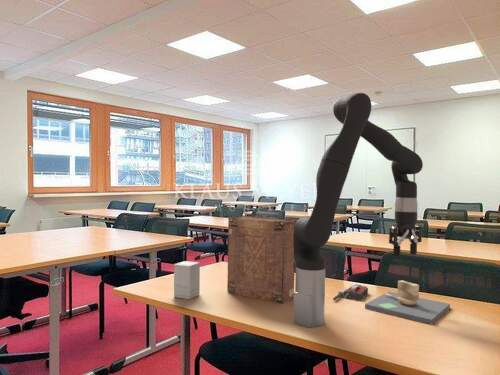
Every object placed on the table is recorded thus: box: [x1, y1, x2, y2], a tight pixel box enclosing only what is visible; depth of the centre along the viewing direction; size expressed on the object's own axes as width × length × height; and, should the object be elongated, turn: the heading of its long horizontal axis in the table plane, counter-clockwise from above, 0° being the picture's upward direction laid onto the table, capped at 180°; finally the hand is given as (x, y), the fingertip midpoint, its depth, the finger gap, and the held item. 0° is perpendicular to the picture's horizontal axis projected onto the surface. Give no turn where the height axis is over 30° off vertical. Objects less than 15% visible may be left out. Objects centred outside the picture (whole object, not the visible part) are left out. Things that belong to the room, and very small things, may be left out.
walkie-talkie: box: [332, 284, 369, 301], centre depth 146 cm, size 9×4×20 cm
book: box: [226, 215, 297, 304], centre depth 146 cm, size 25×9×30 cm, turn 57°
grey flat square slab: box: [364, 291, 451, 325], centre depth 133 cm, size 22×22×2 cm
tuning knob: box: [384, 280, 420, 306], centre depth 136 cm, size 14×6×7 cm, turn 28°
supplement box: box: [173, 260, 201, 300], centre depth 143 cm, size 7×7×13 cm
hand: (405, 255), depth 134 cm, fingers open, 8 cm apart
